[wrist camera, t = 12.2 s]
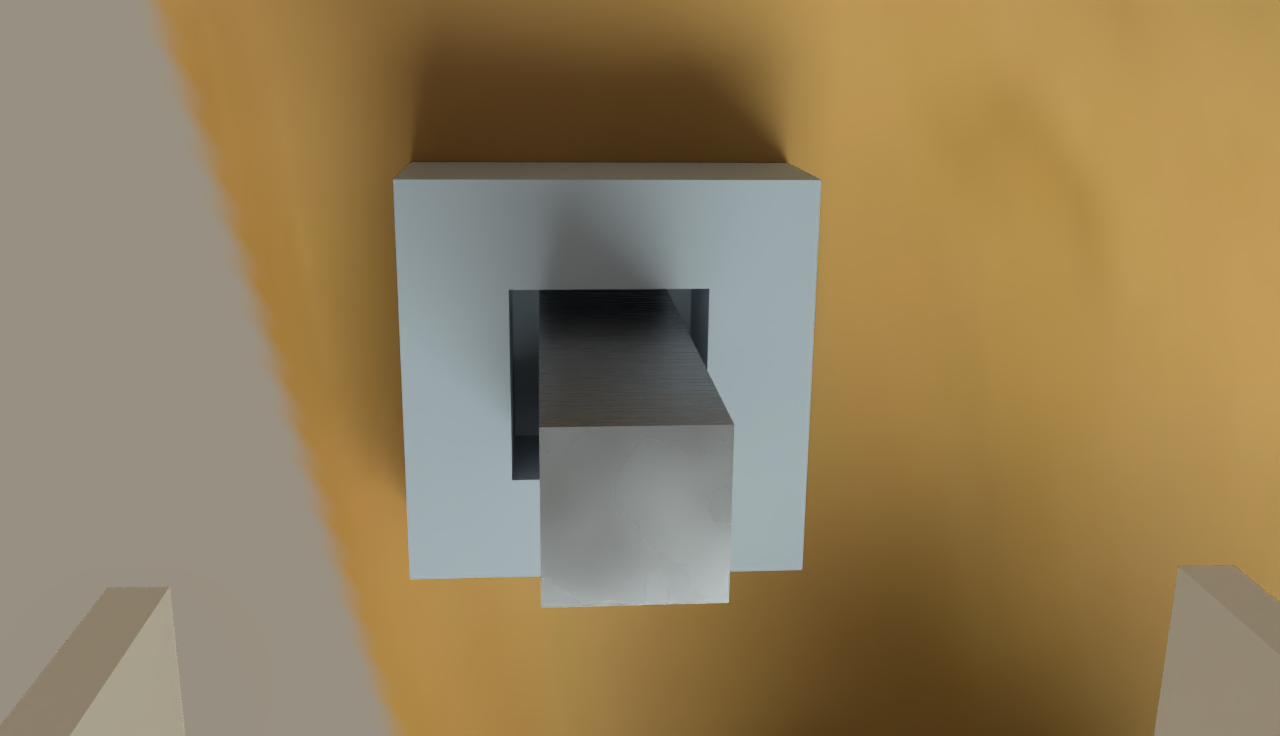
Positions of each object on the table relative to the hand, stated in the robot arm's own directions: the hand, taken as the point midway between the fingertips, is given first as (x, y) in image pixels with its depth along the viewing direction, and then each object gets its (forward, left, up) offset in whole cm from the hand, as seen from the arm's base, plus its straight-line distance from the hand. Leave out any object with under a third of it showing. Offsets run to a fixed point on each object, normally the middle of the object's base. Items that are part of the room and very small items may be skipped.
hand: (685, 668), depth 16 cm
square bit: (0, 0, -18) cm, 18 cm away
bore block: (0, 0, -18) cm, 18 cm away
